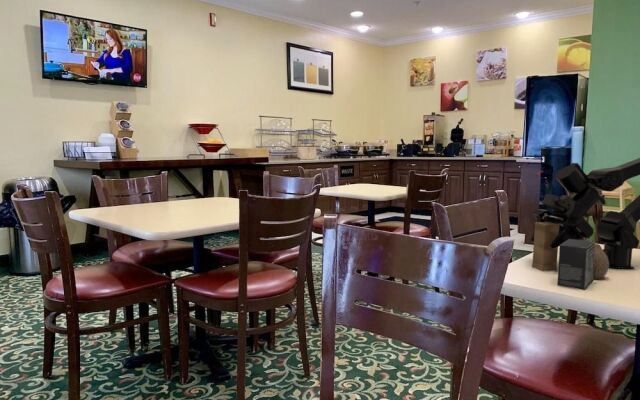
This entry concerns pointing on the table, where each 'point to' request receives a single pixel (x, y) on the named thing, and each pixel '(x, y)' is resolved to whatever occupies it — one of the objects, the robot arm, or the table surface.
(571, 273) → the small box
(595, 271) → the vase
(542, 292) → the table surface
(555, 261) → the walnut block
